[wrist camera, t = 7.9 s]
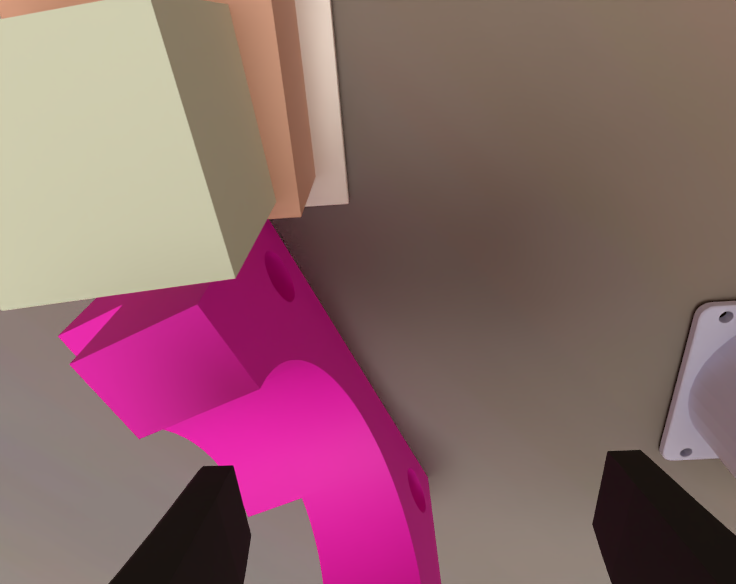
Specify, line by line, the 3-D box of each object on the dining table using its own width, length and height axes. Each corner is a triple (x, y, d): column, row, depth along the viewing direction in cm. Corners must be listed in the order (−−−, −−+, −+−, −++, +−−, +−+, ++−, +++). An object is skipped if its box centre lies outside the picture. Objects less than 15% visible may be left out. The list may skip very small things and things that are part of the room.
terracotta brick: (290, -38, 14) (263, -59, 11) (315, 176, 17) (301, 216, 13) (78, -20, 14) (-18, -34, 11) (138, 189, 17) (77, 231, 14)
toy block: (121, 272, 20) (-7, 400, 13) (260, 202, 18) (197, 304, 12) (313, 513, 26) (293, 683, 19) (427, 474, 24) (448, 642, 18)
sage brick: (276, 201, 13) (235, 278, 9) (110, 226, 13) (1, 310, 9) (228, 4, 11) (148, -9, 7) (34, 38, 11) (-147, 46, 7)
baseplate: (323, -81, 14) (321, -85, 14) (348, 198, 18) (348, 203, 17) (43, -57, 14) (30, -60, 14) (125, 213, 18) (118, 219, 18)
